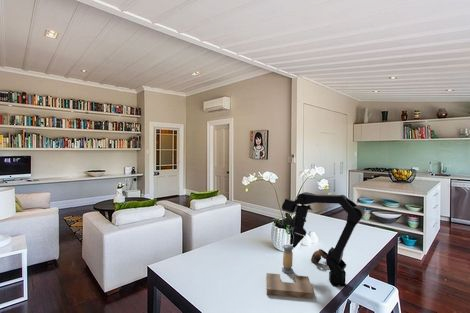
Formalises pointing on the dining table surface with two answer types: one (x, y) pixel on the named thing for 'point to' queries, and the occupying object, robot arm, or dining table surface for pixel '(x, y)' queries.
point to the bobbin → (287, 259)
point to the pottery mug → (318, 256)
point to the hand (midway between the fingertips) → (292, 246)
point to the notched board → (289, 286)
